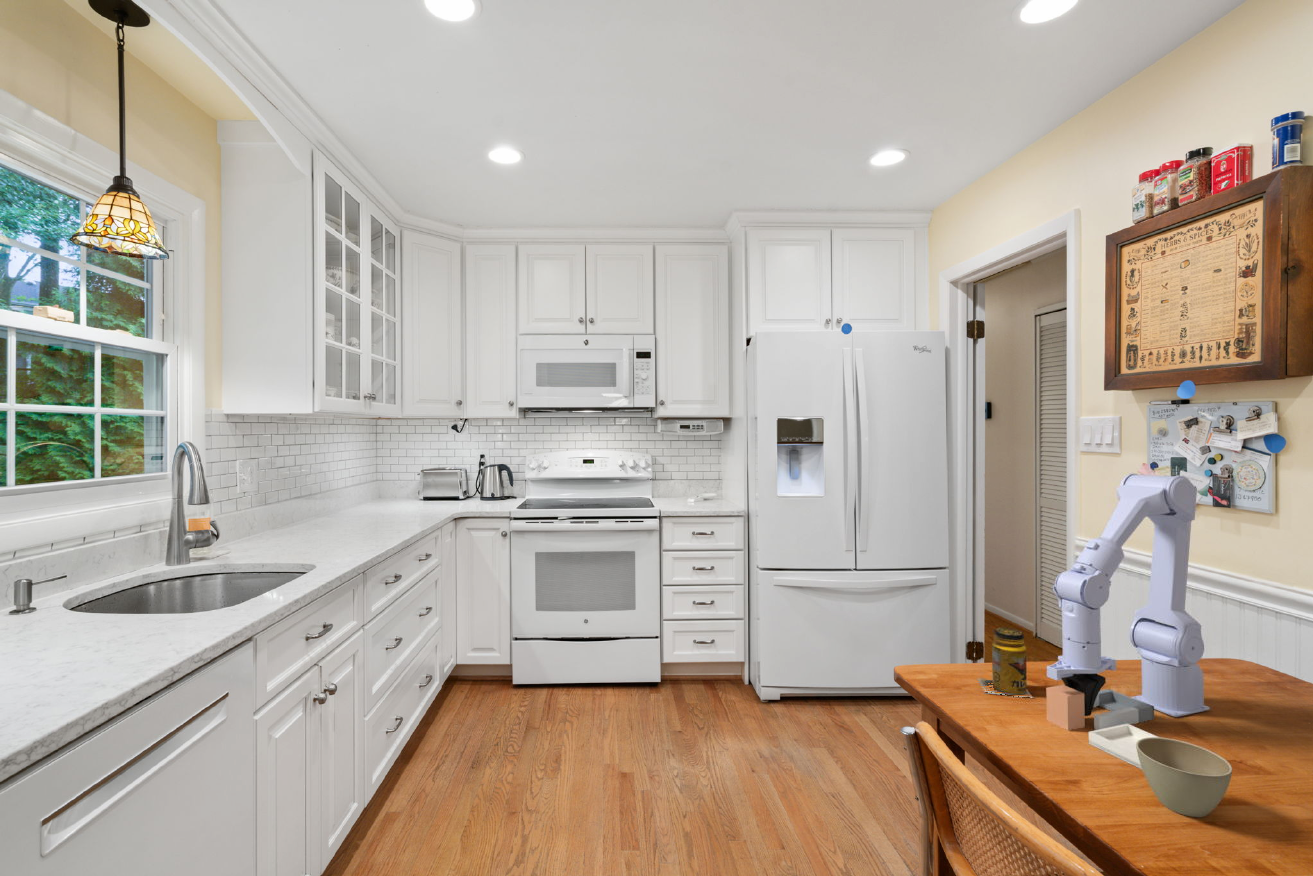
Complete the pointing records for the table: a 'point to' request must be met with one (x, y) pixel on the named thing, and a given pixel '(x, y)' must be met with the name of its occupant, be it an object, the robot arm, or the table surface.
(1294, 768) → the table surface
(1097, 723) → the channel
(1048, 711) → the block
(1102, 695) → the grey u-shaped piece
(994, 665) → the condiment
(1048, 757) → the table surface
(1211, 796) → the beige bowl
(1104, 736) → the tray
